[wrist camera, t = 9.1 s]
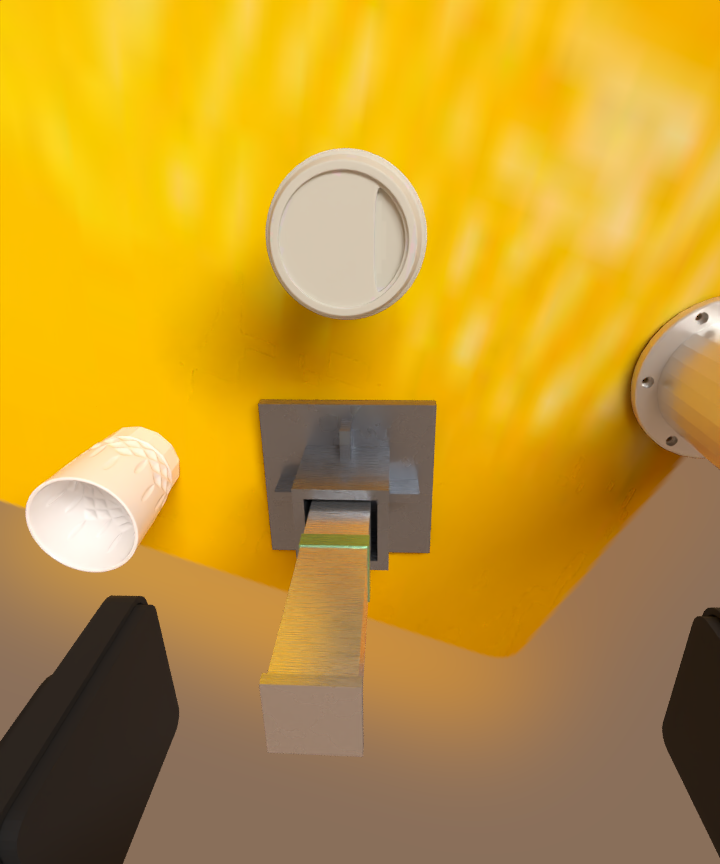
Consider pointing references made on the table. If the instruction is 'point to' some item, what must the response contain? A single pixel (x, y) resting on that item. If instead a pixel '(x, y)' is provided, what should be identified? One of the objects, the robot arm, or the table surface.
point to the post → (322, 638)
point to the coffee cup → (346, 234)
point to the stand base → (351, 467)
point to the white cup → (104, 500)
